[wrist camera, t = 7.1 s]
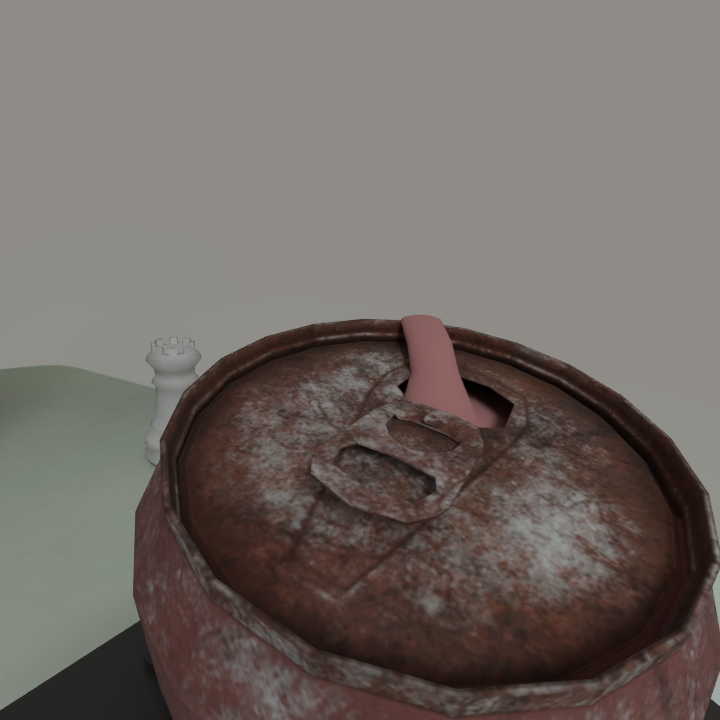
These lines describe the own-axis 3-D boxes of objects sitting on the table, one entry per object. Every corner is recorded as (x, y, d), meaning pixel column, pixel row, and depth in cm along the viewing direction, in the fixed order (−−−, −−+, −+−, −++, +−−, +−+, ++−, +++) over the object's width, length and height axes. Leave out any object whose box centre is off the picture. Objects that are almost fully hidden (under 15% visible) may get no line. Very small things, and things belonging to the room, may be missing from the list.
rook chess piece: (190, 430, 32) (183, 328, 30) (228, 452, 30) (225, 343, 27) (131, 454, 29) (118, 341, 26) (170, 481, 27) (159, 360, 24)
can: (433, 692, 15) (548, 305, 8) (502, 1045, 9) (1084, 728, 2) (250, 702, 14) (210, 292, 7) (202, 1087, 8) (-152, 821, 2)
